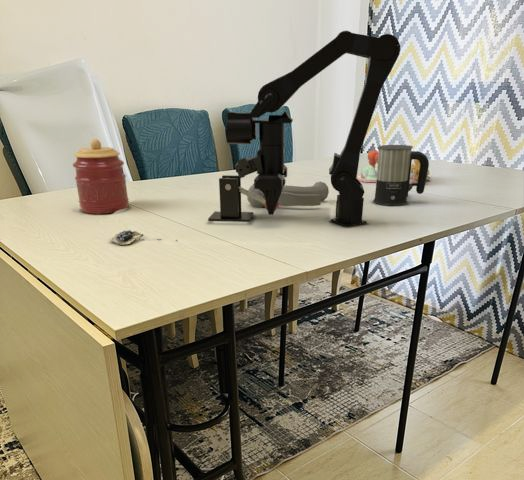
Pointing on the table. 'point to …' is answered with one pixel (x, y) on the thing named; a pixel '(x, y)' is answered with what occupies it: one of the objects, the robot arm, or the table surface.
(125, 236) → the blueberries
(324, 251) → the table surface
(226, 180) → the bracket
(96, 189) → the kitchen canister
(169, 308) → the table surface
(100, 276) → the table surface
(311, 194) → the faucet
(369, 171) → the candy landscape model
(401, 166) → the milk frother
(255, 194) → the tap lever
